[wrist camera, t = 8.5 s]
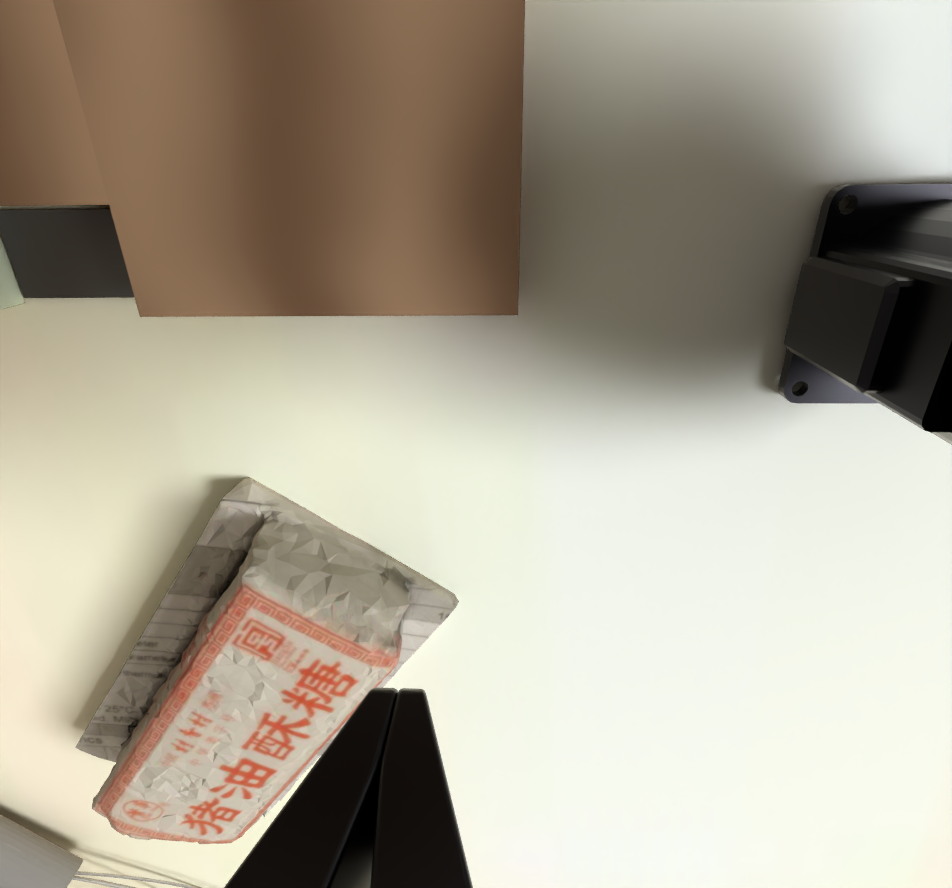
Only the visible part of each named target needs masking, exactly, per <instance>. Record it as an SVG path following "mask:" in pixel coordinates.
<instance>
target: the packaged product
mask: <svg viewBox="0 0 952 888" xmlns="http://www.w3.org/2000/svg"><path fill="white" fill-rule="evenodd" d="M458 602H459V601H458V599H457V598H456V596H455V594H453V593H452V592H450V591H448V590H447V589H445V588H443V587H442V586H440V585H438V584H437V583H435V582H433V581H432V580H430V579H428V578H426V577H425V576H423V575H421V574H419V573H418V572H416V571H414V570H413V569H411V568H409V567H407V566H406V565H404V564H402V563H400V562H399V561H397V560H395V559H394V558H392V557H390V556H388V555H387V554H385V553H383V552H381V551H380V550H378V549H376V548H374V547H373V546H371V545H369V544H368V543H366V542H364V541H362V540H361V539H359V538H357V537H355V536H353V535H351V534H349V533H347V532H345V531H343V530H341V529H339V528H338V527H336V526H334V525H333V524H331V523H329V522H328V521H326V520H324V519H323V518H321V517H319V516H318V515H316V514H314V513H312V512H310V511H309V510H307V509H305V508H303V507H301V506H300V505H298V504H296V503H294V502H292V501H291V500H289V499H287V498H285V497H284V496H282V495H280V494H278V493H276V492H275V491H273V490H271V489H269V488H267V487H266V486H264V485H262V484H260V483H258V482H257V481H255V480H253V479H251V478H244V479H243V480H242V481H241V482H240V483H238V484H237V485H236V486H235V487H234V488H233V489H232V490H231V491H230V492H229V493H227V494H226V495H225V496H224V497H223V498H222V500H221V501H220V503H219V505H218V506H217V508H216V509H215V511H214V513H213V515H212V517H211V518H210V520H209V522H208V524H207V526H206V527H205V529H204V531H203V533H202V535H201V536H200V538H199V540H198V542H197V543H196V545H195V547H194V549H193V550H192V552H191V554H190V555H189V557H188V559H187V560H186V562H185V563H184V565H183V567H182V568H181V570H180V572H179V573H178V575H177V576H176V578H175V580H174V581H173V583H172V585H171V586H170V588H169V590H168V591H167V593H166V595H165V597H164V598H163V600H162V602H161V603H160V605H159V607H158V609H157V610H156V612H155V614H154V615H153V617H152V619H151V620H150V622H149V624H148V625H147V627H146V629H145V630H144V632H143V633H142V635H141V637H140V638H139V640H138V642H137V643H136V645H135V647H134V649H133V651H132V652H131V654H130V656H129V658H128V660H127V662H126V663H125V665H124V667H123V669H122V671H121V672H120V674H119V676H118V678H117V679H116V681H115V683H114V684H113V686H112V687H111V689H110V691H109V692H108V694H107V695H106V697H105V698H104V700H103V702H102V703H101V705H100V706H99V708H98V710H97V711H96V713H95V715H94V716H93V718H92V720H91V722H90V723H89V725H88V727H87V728H86V730H85V732H84V734H83V735H82V737H81V739H80V741H79V742H78V744H77V746H76V748H77V749H79V750H81V751H84V752H86V753H89V754H91V755H94V756H96V757H98V758H102V759H106V760H110V761H113V762H116V764H115V765H114V767H113V769H112V771H111V773H110V775H109V777H108V778H107V780H106V781H105V783H104V784H103V786H102V787H101V789H100V791H99V793H98V794H97V795H96V796H95V797H94V799H93V804H92V809H93V810H95V811H96V812H97V813H99V814H100V815H102V816H104V817H106V818H107V819H108V820H109V822H110V824H111V827H112V828H114V829H115V830H116V831H117V832H119V833H121V834H122V835H126V834H127V835H128V836H130V837H131V838H135V839H144V840H149V839H159V840H170V841H186V842H198V843H199V844H210V843H231V842H233V841H235V840H236V839H238V838H240V837H242V836H243V834H244V833H245V832H246V831H247V830H248V829H249V828H250V827H251V826H253V825H254V824H255V823H256V822H257V821H258V820H259V819H260V817H261V816H262V815H264V817H265V816H266V815H267V813H268V812H269V811H270V810H271V809H272V807H273V806H274V805H275V804H276V803H277V802H278V801H279V800H281V799H282V798H283V797H284V796H285V795H286V794H287V792H288V791H289V790H290V789H291V788H292V786H293V785H294V784H295V782H296V781H297V780H298V779H299V778H300V777H301V776H302V775H303V773H304V772H305V771H306V770H307V769H308V768H309V767H310V766H311V765H312V764H313V763H314V762H315V761H316V760H317V759H318V758H319V757H320V756H321V755H322V754H323V753H324V752H325V750H326V749H327V747H328V746H329V745H330V743H331V742H332V741H333V739H334V738H335V737H336V735H337V734H338V733H339V731H340V730H341V729H342V727H343V726H344V724H345V723H346V722H347V720H348V719H349V718H350V716H351V715H352V714H353V712H354V711H355V710H356V708H357V707H358V705H359V704H360V703H361V701H362V700H363V699H364V697H365V696H366V695H367V693H368V692H369V691H370V690H371V689H373V688H383V687H384V686H385V684H386V683H387V682H388V681H389V680H390V679H391V678H392V677H393V676H394V675H395V673H396V672H397V671H398V670H399V669H400V667H401V666H402V665H403V664H404V663H405V662H406V661H407V660H408V659H409V658H410V657H411V656H412V655H413V654H414V653H415V652H416V650H417V649H418V648H419V647H420V646H421V645H422V644H423V643H424V642H425V641H426V640H427V639H428V638H429V636H430V635H431V634H432V633H433V632H434V631H435V630H436V629H437V628H438V627H439V626H440V625H441V624H442V623H443V622H444V620H445V619H446V618H447V617H448V616H449V615H450V613H451V612H452V611H453V610H454V609H455V607H456V606H457V604H458Z"/></svg>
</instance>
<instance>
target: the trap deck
mask: <svg viewBox="0 0 952 888" xmlns="http://www.w3.org/2000/svg"><path fill="white" fill-rule="evenodd" d="M524 19H525V0H0V206H37V205H109V206H110V209H49V210H0V233H1V236H2V238H1V236H0V310H1V309H5V308H8V307H12V306H16V305H19V304H23V303H25V302H24V299H23V296H24V298H105V297H135V300H136V304H137V308H138V311H139V315H140V317H166V316H421V315H518V289H519V244H520V199H521V154H522V109H523V64H524ZM2 239H3V241H4V244H5V247H6V249H5V247H4V244H3V241H2ZM6 250H7V252H8V255H9V258H10V260H9V258H8V255H7V252H6ZM10 261H11V263H12V266H13V269H14V271H13V269H12V266H11V263H10ZM14 272H15V274H16V277H17V280H18V282H17V280H16V277H15V274H14ZM18 283H19V285H20V288H21V291H22V293H21V291H20V288H19V285H18ZM22 294H23V296H22Z"/></svg>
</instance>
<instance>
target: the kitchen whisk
mask: <svg viewBox="0 0 952 888" xmlns="http://www.w3.org/2000/svg"><path fill="white" fill-rule="evenodd" d="M82 861H83V859H82V858H80V857H78V856H76V855H74V854H72V853H70V852H69V851H67V850H65V849H63V848H61V847H59V846H58V845H56V844H54V843H52V842H50V841H48V840H47V839H45V838H43V837H41V836H39V835H37V834H35V833H34V832H32V831H30V830H28V829H26V828H24V827H23V826H21V825H19V824H17V823H15V822H13V821H12V820H10V819H8V818H6V817H4V816H2V815H1V814H0V888H67V886H68V884H69V883H70V881H71V880H72V879H73V880H79V881H84V882H90V883H95V884H100V885H105V886H110V887H114V888H135V887H131V886H127V885H122V884H117V883H112V882H107V881H102V880H96V879H91V878H85V877H79V876H74V875H75V874H77V875H92V876H105V877H115V878H124V879H134V880H141V881H148V882H155V883H162V884H169V885H174V886H179V887H184V888H199V887H194V886H189V885H184V884H179V883H174V882H169V881H162V880H155V879H148V878H142V877H134V876H125V875H115V874H105V873H93V872H79V871H78V869H79V867H80V865H81V864H82Z"/></svg>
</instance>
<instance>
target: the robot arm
mask: <svg viewBox="0 0 952 888" xmlns="http://www.w3.org/2000/svg"><path fill="white" fill-rule="evenodd" d="M846 195H847V196H848V197H849V205H848V207H847V209H846V210H844V211H843V212H840V211H839V203H840V201H841V199H842V198H843V197H845V196H846ZM784 344H785V345H786V347H787V353H786V357H785V361H784V365H783V369H782V373H781V377H780V382H779V392H780V394H781V395H782V396H783V397H785V398H786V399H787V400H789V401H790V402H793V403H880V404H882V405H883V406H885V407H887V408H888V409H890V410H892V411H893V412H895V413H897V414H898V415H900V416H902V417H903V418H905V419H907V420H908V421H910V422H912V423H913V424H915V425H917V426H918V427H920V428H922V429H923V430H925V431H928V432H931V433H933V434H935V435H936V436H938V437H940V438H941V439H943V440H945V441H946V442H948V443H950V444H951V445H952V183H938V184H848V185H840V186H837V187H835V188H834V189H832V190H831V191H830V192H829V193H828V194H827V195H826V197H825V199H824V201H823V204H822V207H821V212H820V216H819V220H818V224H817V228H816V232H815V236H814V241H813V245H812V249H811V253H810V257H809V259H808V260H807V261H806V262H805V263H804V264H803V265H802V268H801V273H800V277H799V281H798V285H797V289H796V294H795V298H794V302H793V306H792V310H791V315H790V319H789V323H788V327H787V332H786V336H785V340H784ZM801 381H802V386H801V388H800V389H798V390H797V391H794V392H792V388H793V386H794V385H795V384H796V383H797V382H801ZM224 888H473V886H472V882H471V878H470V874H469V870H468V866H467V862H466V858H465V853H464V849H463V845H462V841H461V837H460V833H459V829H458V824H457V820H456V816H455V812H454V808H453V804H452V800H451V796H450V791H449V787H448V783H447V779H446V775H445V771H444V767H443V762H442V758H441V754H440V750H439V746H438V742H437V738H436V734H435V729H434V725H433V721H432V717H431V713H430V709H429V705H428V700H427V696H426V693H425V691H424V690H423V689H405V688H404V689H401V690H399V692H398V691H397V690H396V689H394V688H373V689H371V690H370V691H369V692H368V693H367V695H366V696H365V697H364V699H363V700H362V701H361V703H360V704H359V705H358V707H357V708H356V710H355V711H354V712H353V714H352V715H351V716H350V718H349V719H348V720H347V722H346V723H345V724H344V726H343V727H342V729H341V730H340V731H339V733H338V734H337V735H336V737H335V738H334V739H333V741H332V742H331V743H330V745H329V746H328V747H327V749H326V750H325V752H324V753H323V754H322V756H321V757H320V758H319V760H318V761H317V762H316V764H315V765H314V766H313V768H312V769H311V771H310V772H309V773H308V775H307V776H306V777H305V779H304V780H303V781H302V783H301V784H300V785H299V787H298V788H297V790H296V791H295V792H294V794H293V795H292V796H291V798H290V799H289V800H288V802H287V803H286V804H285V806H284V807H283V809H282V810H281V811H280V813H279V814H278V815H277V817H276V818H275V819H274V821H273V822H272V823H271V825H270V826H269V828H268V829H267V830H266V832H265V833H264V834H263V836H262V837H261V838H260V840H259V841H258V842H257V844H256V845H255V846H254V848H253V849H252V851H251V852H250V853H249V855H248V856H247V857H246V859H245V860H244V861H243V863H242V864H241V865H240V867H239V868H238V870H237V871H236V872H235V874H234V875H233V876H232V878H231V879H230V880H229V882H228V883H227V884H226V886H225V887H224Z"/></svg>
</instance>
